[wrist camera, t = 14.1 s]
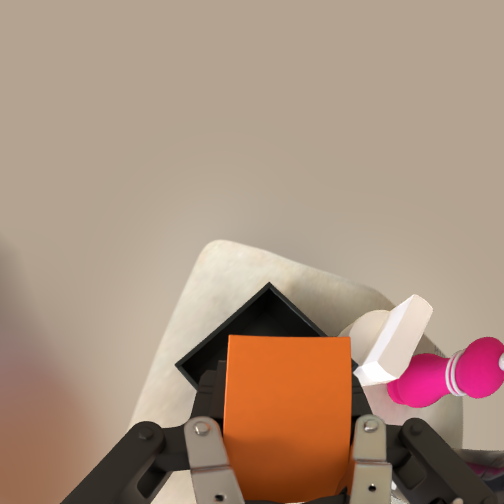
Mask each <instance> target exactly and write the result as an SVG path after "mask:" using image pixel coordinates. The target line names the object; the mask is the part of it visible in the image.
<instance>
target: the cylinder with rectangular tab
mask: <svg viewBox="0 0 504 504" xmlns="http://www.w3.org/2000/svg"><path fill="white" fill-rule="evenodd" d="M432 313H433V308H432V307H431V306H430V305H429V304H428V303H427V301H426V300H424V299H423V298H421V297H420V296H418V295H416V294H414V295H412V296H411V297H409V298H408V299H407V300H405V301H404V302H402V303H401V304H400V305H398V306H397V307H395V308H394V309H392V310H391V311H386V310H374V311H370V312H367V313H366V314H364V315H363V316H361V317H360V318H358V319H357V320H356V321H354V322H353V323H351V324H350V325H349V326H347V327H346V328H345V329H343V330H342V332H341V333H340V334H339V335H338V336H337V337H348V336H349V337H350V338H351V358H352V359H353V360H354V361H355V362H356V363H358V364H359V366H358V368H357V369H356V370H355V371H354V372H353V374H354V375H355V376H356V377H358V379H359V381H360V384H361V386H368V385H376V384H383V383H389V382H391V381H393V380H396V379H399V378H400V376H401V375H402V374H403V373H404V371H405V370H406V369H407V367H408V366H409V363H410V361H411V358H412V354H413V352H414V350H415V349H416V347H417V345H418V343H419V341H420V339H421V337H422V334H423V332H424V330H425V328H426V326H427V324H428V321H429V319H430V317H431V315H432Z"/></svg>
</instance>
